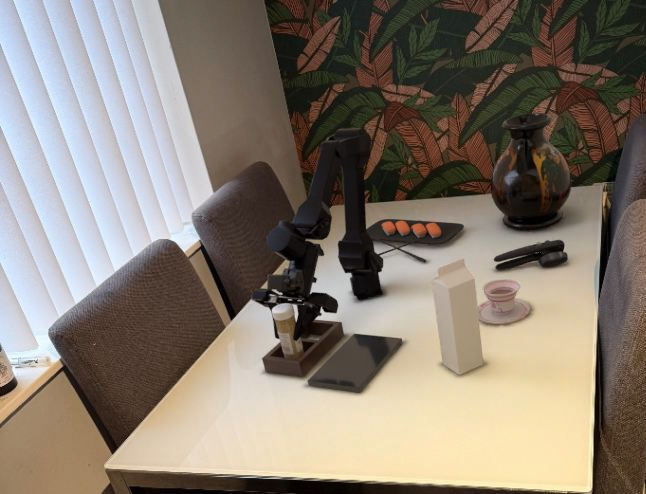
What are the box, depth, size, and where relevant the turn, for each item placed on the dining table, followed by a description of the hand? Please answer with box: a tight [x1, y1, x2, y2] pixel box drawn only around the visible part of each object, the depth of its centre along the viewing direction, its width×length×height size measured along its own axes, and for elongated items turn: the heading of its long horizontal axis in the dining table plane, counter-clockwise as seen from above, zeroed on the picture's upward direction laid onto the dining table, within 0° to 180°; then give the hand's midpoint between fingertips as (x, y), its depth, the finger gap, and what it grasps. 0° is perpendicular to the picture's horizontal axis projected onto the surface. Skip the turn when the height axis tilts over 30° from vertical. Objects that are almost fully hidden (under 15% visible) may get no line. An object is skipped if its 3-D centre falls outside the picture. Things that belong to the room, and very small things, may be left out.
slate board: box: [307, 333, 404, 393], centre depth 159 cm, size 20×12×1 cm, turn 153°
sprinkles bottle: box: [271, 303, 304, 360], centre depth 161 cm, size 5×5×13 cm
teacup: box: [478, 278, 531, 325], centre depth 167 cm, size 12×12×6 cm
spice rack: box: [261, 319, 345, 378], centre depth 166 cm, size 18×10×4 cm, turn 153°
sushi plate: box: [366, 218, 465, 263], centre depth 211 cm, size 29×30×4 cm
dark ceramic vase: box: [490, 112, 572, 232], centre depth 205 cm, size 22×22×28 cm
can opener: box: [493, 239, 569, 271], centre depth 186 cm, size 18×7×6 cm, turn 88°
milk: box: [430, 258, 484, 376], centre depth 147 cm, size 6×6×22 cm
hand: (285, 339), depth 160 cm, fingers closed on sprinkles bottle, 4 cm apart
